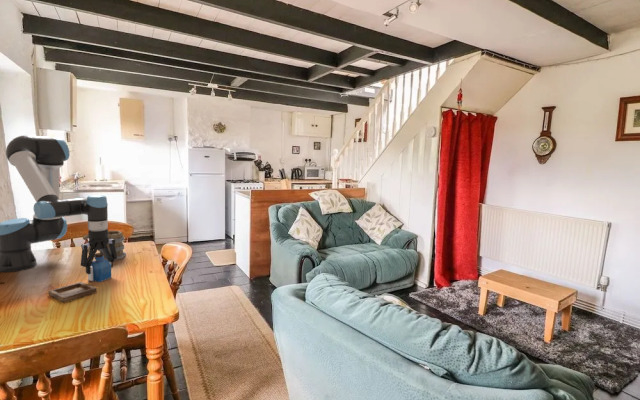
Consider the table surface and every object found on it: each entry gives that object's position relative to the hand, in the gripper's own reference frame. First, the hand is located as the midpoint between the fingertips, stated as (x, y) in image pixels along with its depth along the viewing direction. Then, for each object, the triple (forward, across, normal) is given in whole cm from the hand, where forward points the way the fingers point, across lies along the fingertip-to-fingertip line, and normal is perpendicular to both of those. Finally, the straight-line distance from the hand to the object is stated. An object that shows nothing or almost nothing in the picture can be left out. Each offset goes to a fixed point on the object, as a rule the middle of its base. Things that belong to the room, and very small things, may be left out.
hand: (100, 277), depth 154 cm
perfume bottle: (+1, 0, 0) cm, 1 cm away
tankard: (+1, +17, +27) cm, 32 cm away
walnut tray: (+1, -15, -8) cm, 17 cm away
